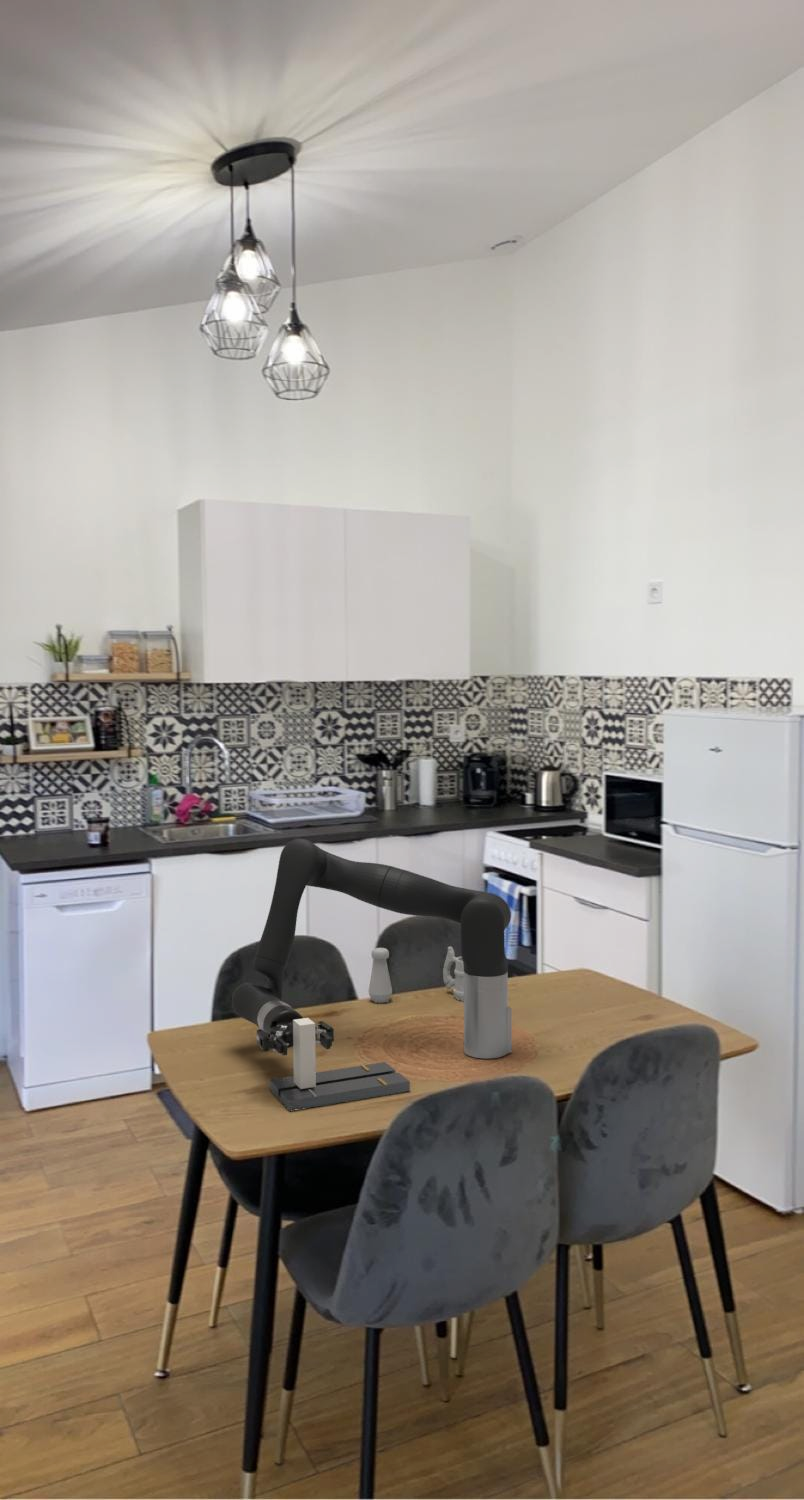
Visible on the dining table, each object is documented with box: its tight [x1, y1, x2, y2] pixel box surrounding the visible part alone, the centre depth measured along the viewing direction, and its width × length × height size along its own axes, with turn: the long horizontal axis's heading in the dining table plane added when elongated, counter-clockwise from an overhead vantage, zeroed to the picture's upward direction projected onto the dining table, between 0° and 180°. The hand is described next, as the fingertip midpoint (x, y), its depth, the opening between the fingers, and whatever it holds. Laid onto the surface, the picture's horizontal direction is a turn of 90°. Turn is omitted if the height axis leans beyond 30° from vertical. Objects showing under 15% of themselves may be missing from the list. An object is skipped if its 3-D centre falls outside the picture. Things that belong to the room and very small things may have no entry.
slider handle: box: [292, 1017, 317, 1089], centre depth 209 cm, size 3×4×13 cm
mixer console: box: [269, 1061, 411, 1112], centre depth 212 cm, size 24×12×2 cm, turn 114°
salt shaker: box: [368, 947, 393, 1004], centre depth 273 cm, size 6×6×13 cm
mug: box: [442, 946, 464, 1002], centre depth 276 cm, size 8×12×12 cm, turn 49°
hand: (307, 1046), depth 207 cm, fingers open, 8 cm apart
